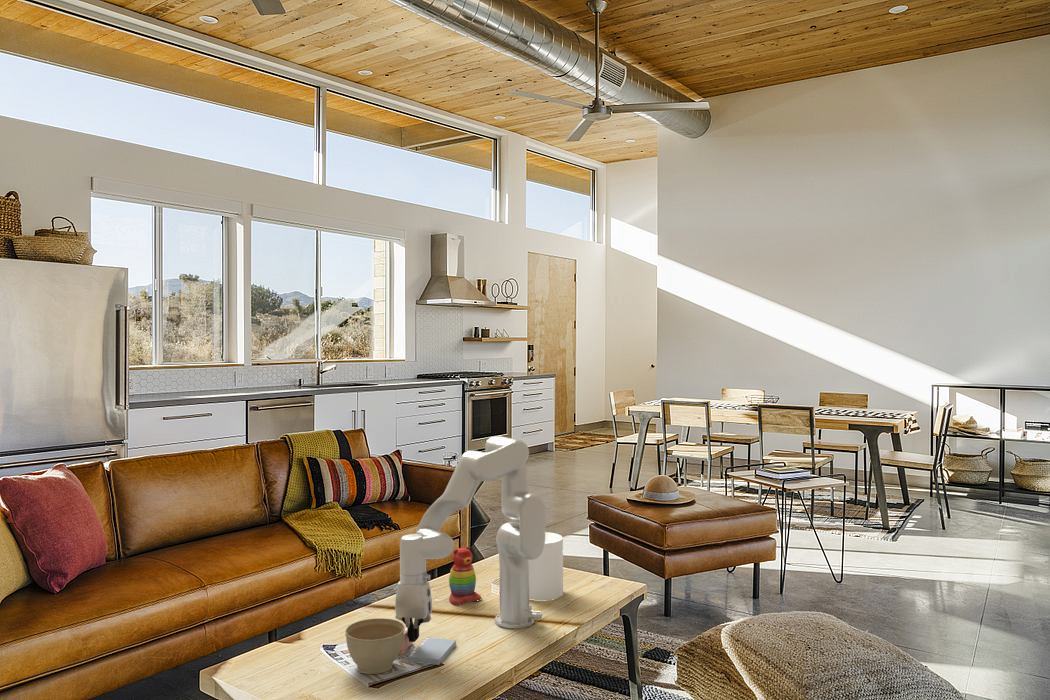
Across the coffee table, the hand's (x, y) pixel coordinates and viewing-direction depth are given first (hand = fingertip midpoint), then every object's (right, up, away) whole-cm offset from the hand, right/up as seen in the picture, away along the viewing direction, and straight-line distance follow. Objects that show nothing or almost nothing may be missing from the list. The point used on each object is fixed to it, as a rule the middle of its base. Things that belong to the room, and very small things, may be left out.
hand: (413, 640), depth 220 cm
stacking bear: (+11, -2, +43) cm, 44 cm away
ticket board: (+6, -3, -2) cm, 7 cm away
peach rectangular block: (-4, -3, +1) cm, 5 cm away
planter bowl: (-9, -3, -12) cm, 15 cm away
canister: (+38, -2, +48) cm, 61 cm away
